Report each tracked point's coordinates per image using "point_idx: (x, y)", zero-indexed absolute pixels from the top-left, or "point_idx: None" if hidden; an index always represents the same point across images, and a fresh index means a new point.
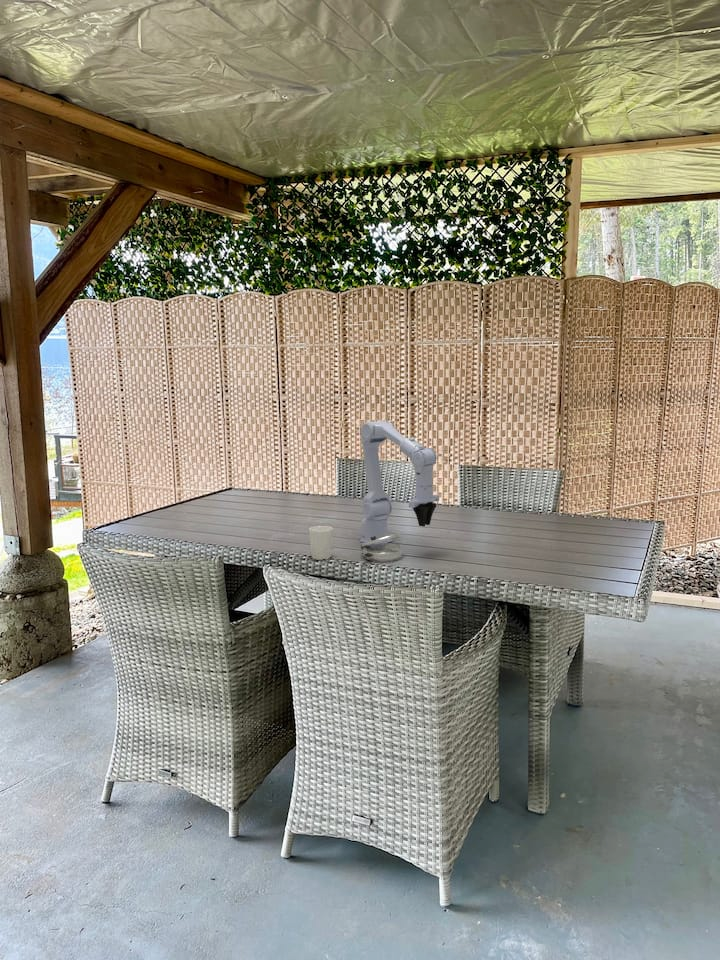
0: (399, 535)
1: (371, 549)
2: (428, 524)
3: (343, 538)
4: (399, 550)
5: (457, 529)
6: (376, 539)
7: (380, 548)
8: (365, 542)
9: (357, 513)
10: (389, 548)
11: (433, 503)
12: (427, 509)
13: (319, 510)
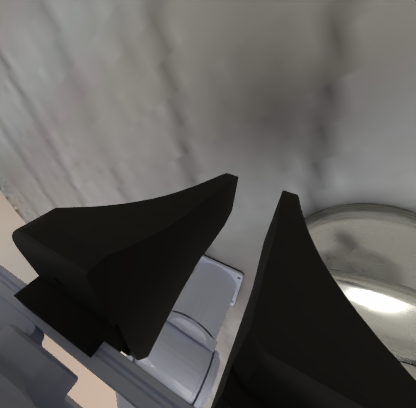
0: (381, 282)
1: None
2: (236, 179)
3: (227, 322)
4: (391, 228)
5: (53, 155)
6: (412, 343)
7: None
8: (387, 347)
9: None
10: (361, 264)
11: (40, 269)
12: (279, 307)
13: None
